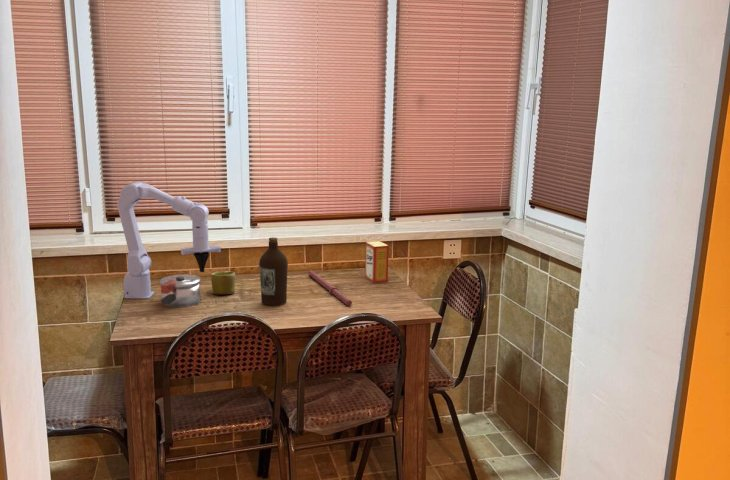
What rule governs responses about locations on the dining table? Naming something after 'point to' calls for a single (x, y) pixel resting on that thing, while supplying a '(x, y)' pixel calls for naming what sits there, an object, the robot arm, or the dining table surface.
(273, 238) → the olive oil
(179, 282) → the cooker lid
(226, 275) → the mug
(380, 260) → the baking soda box
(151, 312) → the dining table surface
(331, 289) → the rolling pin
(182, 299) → the silver pot
